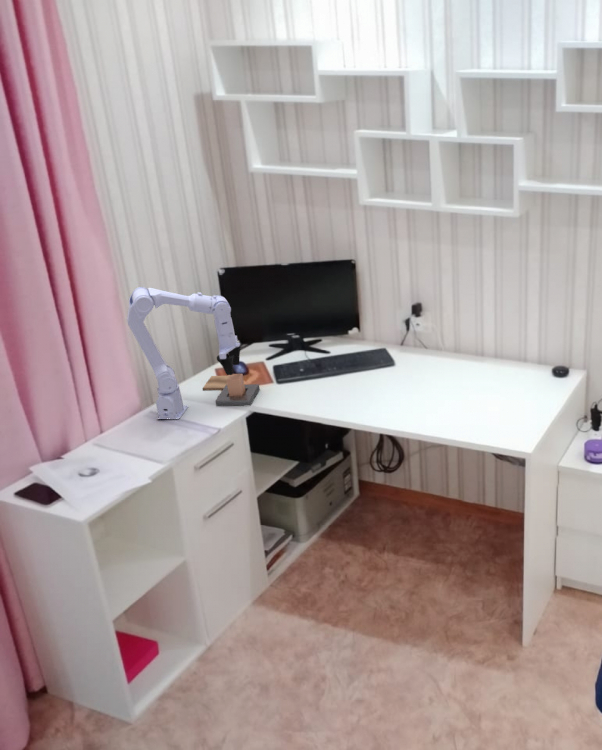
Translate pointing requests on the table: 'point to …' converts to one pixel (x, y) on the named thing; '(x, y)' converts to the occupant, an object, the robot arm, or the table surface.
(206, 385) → the walnut pad
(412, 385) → the table surface
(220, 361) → the robot arm
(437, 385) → the table surface
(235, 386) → the pinkish brown rectangular block
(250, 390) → the socket plate
